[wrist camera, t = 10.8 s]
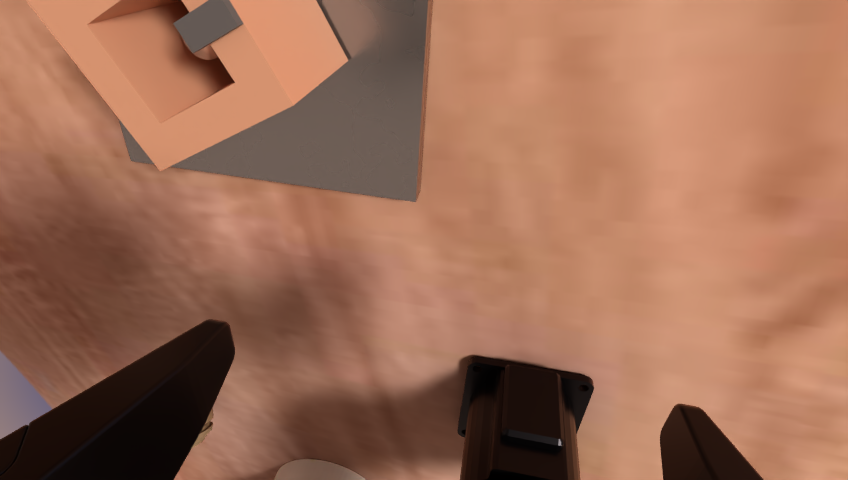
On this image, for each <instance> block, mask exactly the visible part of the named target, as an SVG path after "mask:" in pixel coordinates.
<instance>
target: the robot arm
mask: <svg viewBox="0 0 848 480" xmlns="http://www.w3.org/2000/svg"><path fill="white" fill-rule="evenodd" d="M234 355H235V347H234V342H233V338H232V333H231V329H230V325H229V324H228V323H227V322H224V321H218V320H213V319H209V320H206V321H204V322H202V323H201V324H199V325H197V326H195V327H194V328H192V329H190V330H188V331H187V332H185V333H183V334H182V335H180V336H178V337H176V338H175V339H173V340H171V341H170V342H168V343H166V344H164V345H163V346H161V347H159V348H157V349H156V350H154V351H152V352H151V353H149V354H147V355H145V356H144V357H142V358H140V359H139V360H137V361H135V362H133V363H132V364H130V365H128V366H126V367H125V368H123V369H121V370H120V371H118V372H116V373H114V374H113V375H111V376H109V377H107V378H106V379H104V380H102V381H101V382H99V383H97V384H95V385H94V386H92V387H90V388H89V389H87V390H85V391H83V392H82V393H80V394H78V395H76V396H75V397H73V398H71V399H70V400H68V401H66V402H64V403H63V404H61V405H59V406H58V407H56V408H54V409H52V410H51V411H49V412H47V413H45V414H44V415H42V416H40V417H39V418H37V419H35V420H33V421H32V422H30V424H29V426H28V425H25V426H23V427H21V428H19V429H18V430H16V431H14V432H12V433H11V434H9V435H7V436H6V437H4V438H2V439H0V480H174V478H175V476H176V475H177V473H178V471H179V469H180V468H181V466H182V464H183V462H184V461H185V459H186V457H187V455H188V454H189V452H190V450H191V448H192V447H193V445H194V443H195V441H196V440H197V438H198V436H199V434H200V432H201V431H202V429H203V427H204V425H205V423H206V421H207V419H208V416H209V414H210V412H211V410H212V407H213V405H214V403H215V401H216V398H217V396H218V394H219V391H220V389H221V387H222V385H223V382H224V380H225V378H226V376H227V373H228V371H229V369H230V366H231V364H232V362H233V359H234ZM477 366H480V367H477ZM593 390H594V386H593V381H592V379H591V378H590V377H588V376H584V375H578V374H573V373H567V372H561V371H556V370H550V369H544V368H539V367H533V366H527V365H522V364H516V363H511V362H505V361H499V360H494V359H488V358H482V357H473V358H471V359H470V360H469V363H468V369H467V375H466V381H465V387H464V393H463V400H462V406H461V412H460V418H459V424H458V434H459V435H460V436H462V437H465V443H464V451H463V459H462V467H461V475H460V480H580V470H579V459H578V448H577V436H576V434H577V431H578V429H579V426H580V424H581V421H582V418H583V416H584V413H585V411H586V408H587V406H588V403H589V400H590V398H591V395H592V393H593ZM660 447H661V458H662V469H663V480H764V479H763V478H762V477H761V476H760V475H759V474H758V473H757V471H756V470H755V469H754V468H753V467H752V466H751V465H750V463H749V462H748V461H747V460H746V459H745V458H744V456H743V455H742V454H741V453H740V452H739V451H738V450H737V448H736V447H735V446H734V445H733V444H732V443H731V442H730V440H729V439H728V438H727V437H726V436H725V435H724V434H723V432H722V431H721V430H720V429H719V428H718V427H717V425H716V424H715V423H714V422H713V421H712V420H711V419H710V417H709V416H708V415H707V414H706V413H705V412H704V411H703V410H702V409H701V408H699V407H696V406H691V405H685V404H677V405H675V406H674V408H673V409H672V411H671V413H670V415H669V417H668V418H667V420H666V422H665V424H664V426H663V428H662V430H661V434H660Z"/></svg>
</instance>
